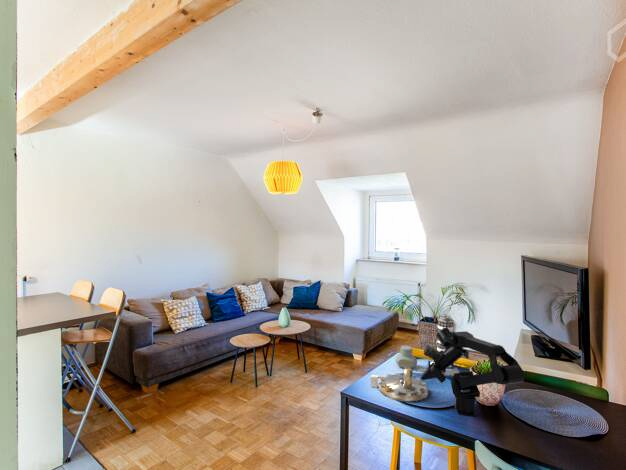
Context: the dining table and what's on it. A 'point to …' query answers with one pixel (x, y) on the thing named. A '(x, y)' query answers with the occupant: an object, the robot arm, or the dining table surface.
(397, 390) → the sprocket
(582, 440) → the dining table surface
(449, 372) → the caliper
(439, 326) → the decorative candle
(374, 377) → the pointer post
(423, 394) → the sprocket base
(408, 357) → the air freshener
